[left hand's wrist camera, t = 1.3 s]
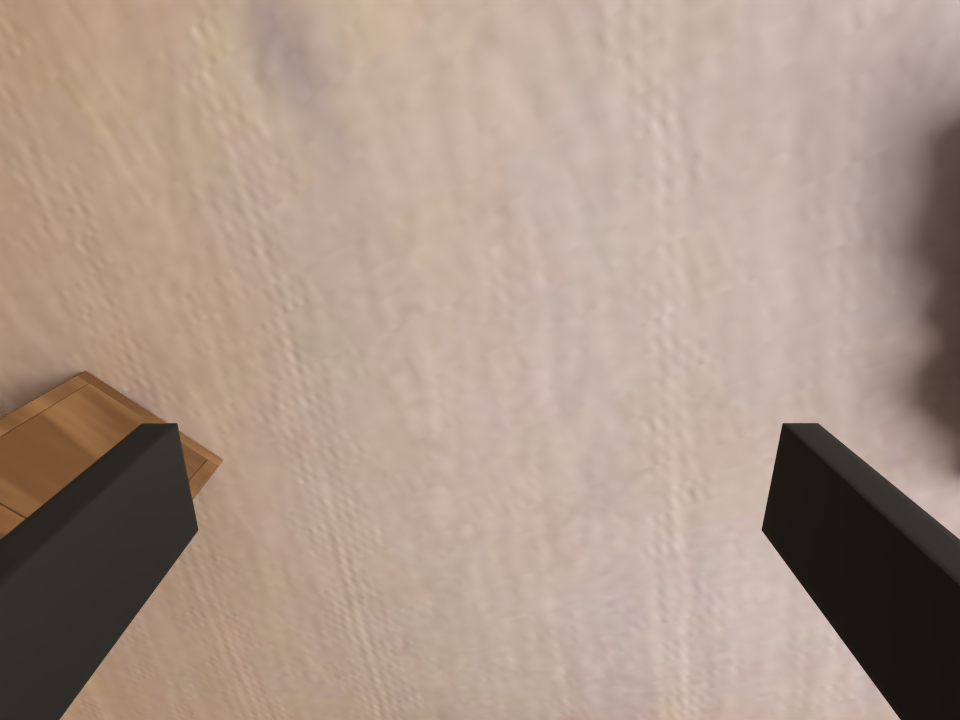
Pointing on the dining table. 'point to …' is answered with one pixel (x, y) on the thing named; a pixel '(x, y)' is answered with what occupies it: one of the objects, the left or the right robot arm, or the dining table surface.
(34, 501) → the chest
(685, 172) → the dining table surface
